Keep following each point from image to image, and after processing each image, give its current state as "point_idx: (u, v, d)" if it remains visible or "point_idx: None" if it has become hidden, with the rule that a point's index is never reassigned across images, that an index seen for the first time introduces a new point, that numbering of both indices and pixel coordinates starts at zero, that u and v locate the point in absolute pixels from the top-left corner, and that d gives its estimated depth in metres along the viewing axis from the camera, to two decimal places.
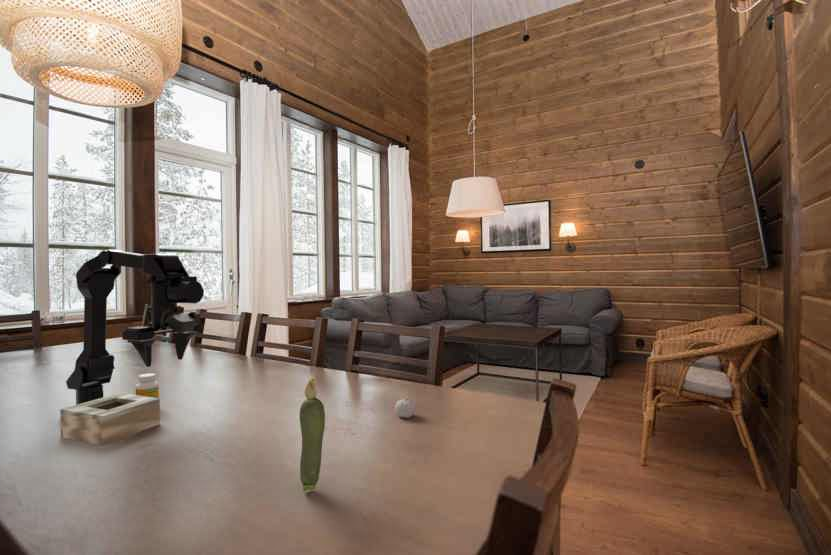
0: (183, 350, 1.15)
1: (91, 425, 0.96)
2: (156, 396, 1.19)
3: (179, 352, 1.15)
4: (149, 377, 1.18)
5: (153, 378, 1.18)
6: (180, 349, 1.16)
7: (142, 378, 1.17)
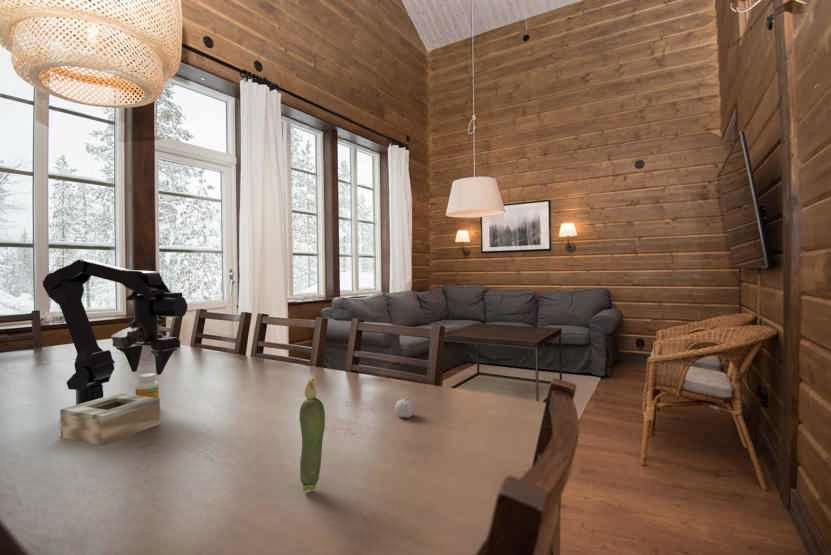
0: (156, 366, 1.16)
1: (91, 425, 0.96)
2: (156, 396, 1.19)
3: None
4: (149, 377, 1.18)
5: (153, 378, 1.18)
6: None
7: (142, 378, 1.17)
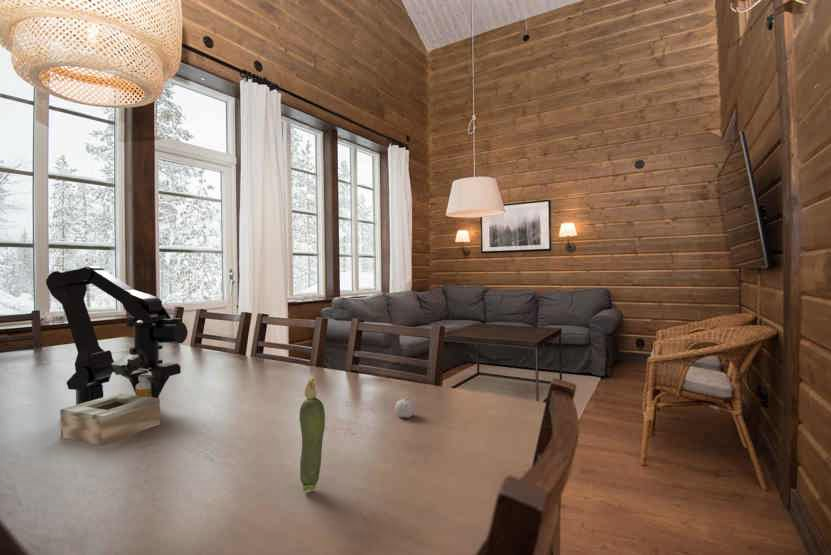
0: (152, 392, 1.17)
1: (91, 425, 0.96)
2: None
3: None
4: None
5: None
6: None
7: (142, 378, 1.17)
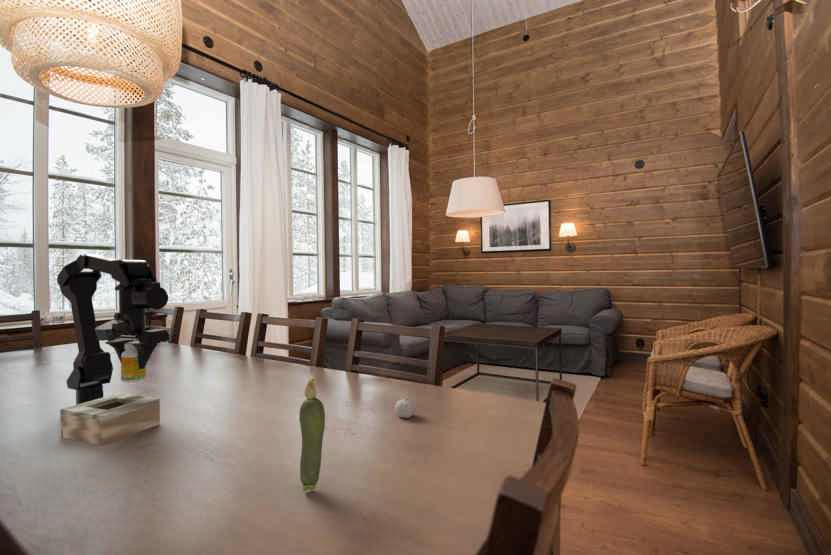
0: (139, 360, 1.10)
1: (91, 425, 0.96)
2: None
3: None
4: None
5: None
6: None
7: (128, 346, 1.10)
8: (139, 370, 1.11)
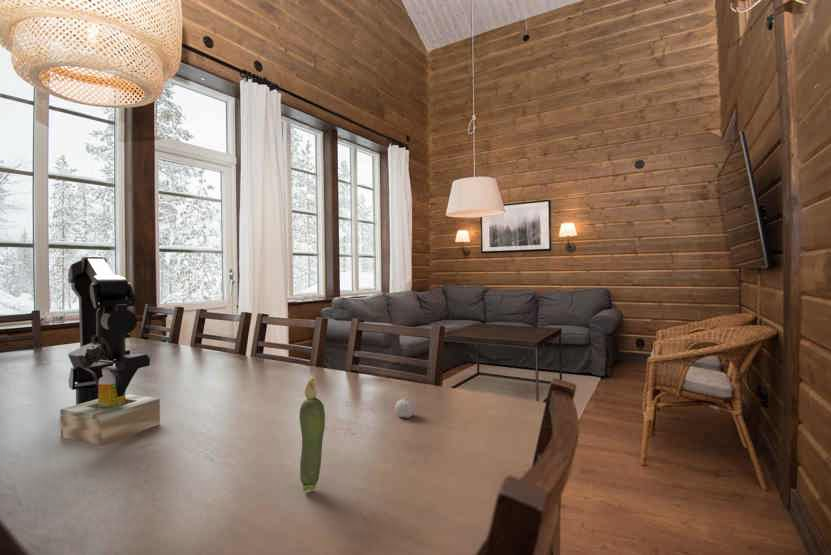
0: (117, 387, 1.02)
1: (91, 425, 0.96)
2: None
3: None
4: None
5: None
6: None
7: (106, 371, 1.02)
8: (117, 398, 1.02)
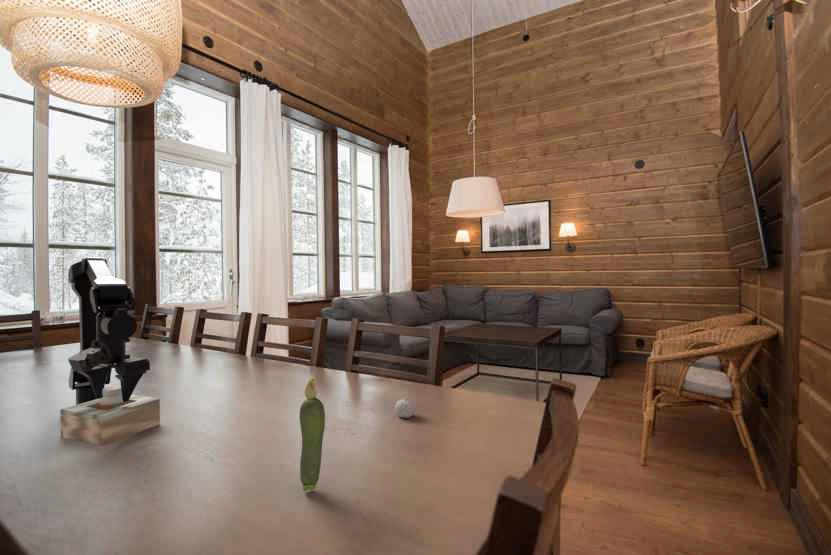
0: (122, 392, 1.01)
1: (91, 425, 0.96)
2: None
3: None
4: (114, 391, 1.02)
5: (119, 392, 1.03)
6: None
7: (106, 392, 1.02)
8: None
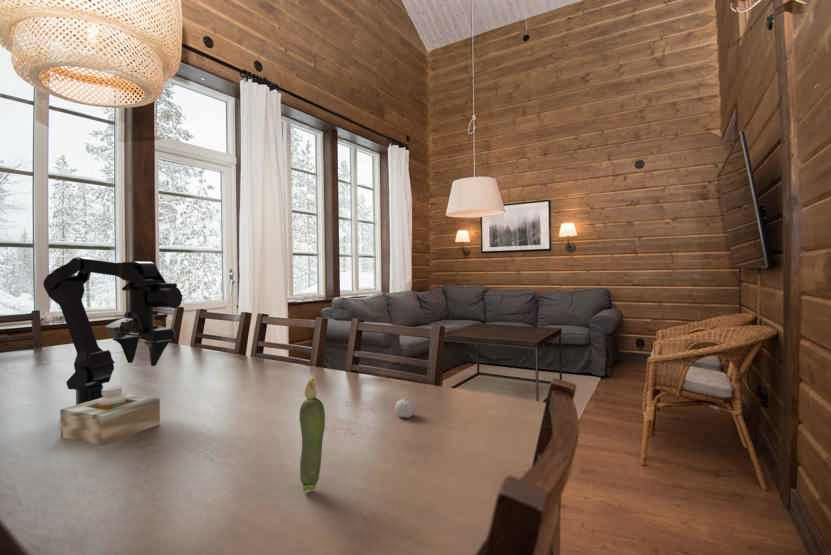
0: (150, 357, 1.15)
1: (91, 425, 0.96)
2: None
3: None
4: (114, 390, 1.02)
5: (118, 392, 1.03)
6: None
7: (105, 392, 1.02)
8: None
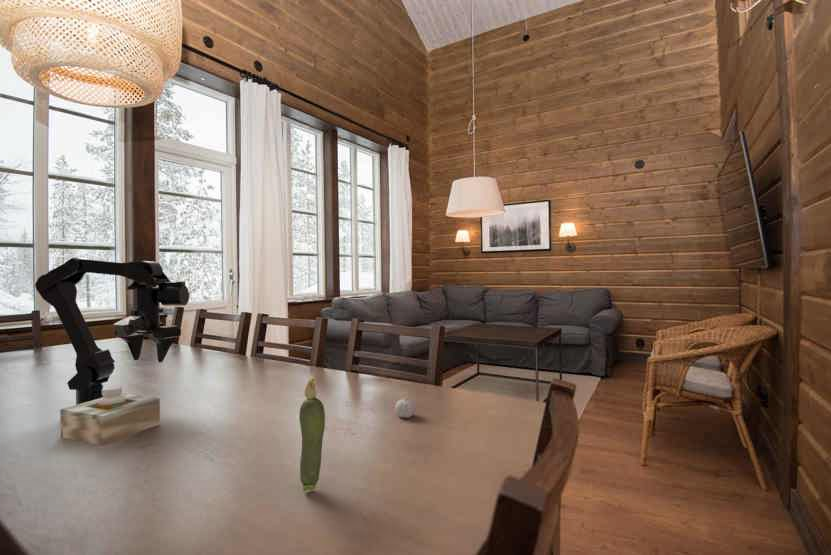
0: (158, 354, 1.19)
1: (91, 425, 0.96)
2: None
3: None
4: (114, 390, 1.03)
5: (119, 392, 1.03)
6: None
7: (106, 392, 1.02)
8: None
